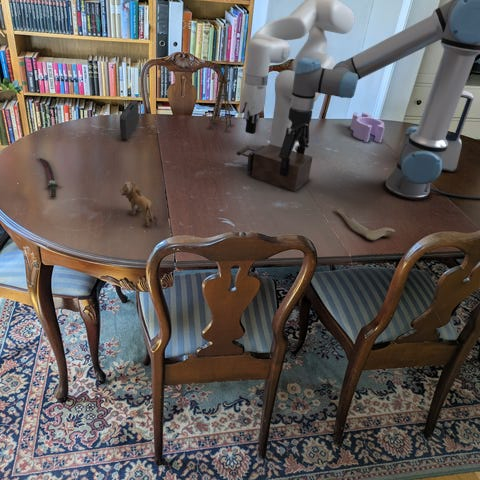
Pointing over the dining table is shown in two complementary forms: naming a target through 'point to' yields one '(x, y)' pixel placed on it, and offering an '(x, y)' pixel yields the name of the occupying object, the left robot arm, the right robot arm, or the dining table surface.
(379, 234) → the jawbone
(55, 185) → the sword
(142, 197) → the lion figurine
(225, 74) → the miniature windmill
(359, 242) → the dining table surface
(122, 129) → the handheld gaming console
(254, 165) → the dark wooden block
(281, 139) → the left robot arm
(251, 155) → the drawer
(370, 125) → the clip
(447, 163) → the electronic device
